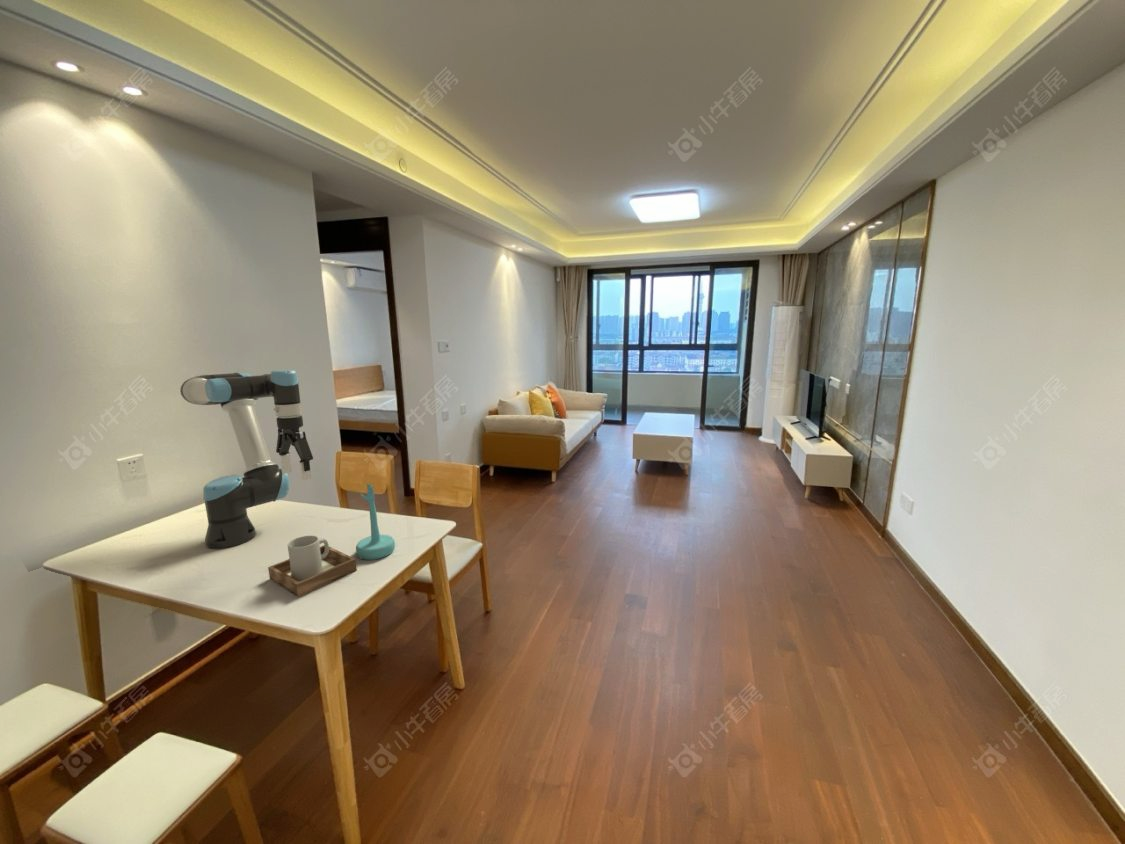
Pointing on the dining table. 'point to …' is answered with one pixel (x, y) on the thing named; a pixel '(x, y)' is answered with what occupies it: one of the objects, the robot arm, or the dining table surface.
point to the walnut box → (333, 569)
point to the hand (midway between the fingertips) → (296, 476)
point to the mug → (306, 556)
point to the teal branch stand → (374, 535)
